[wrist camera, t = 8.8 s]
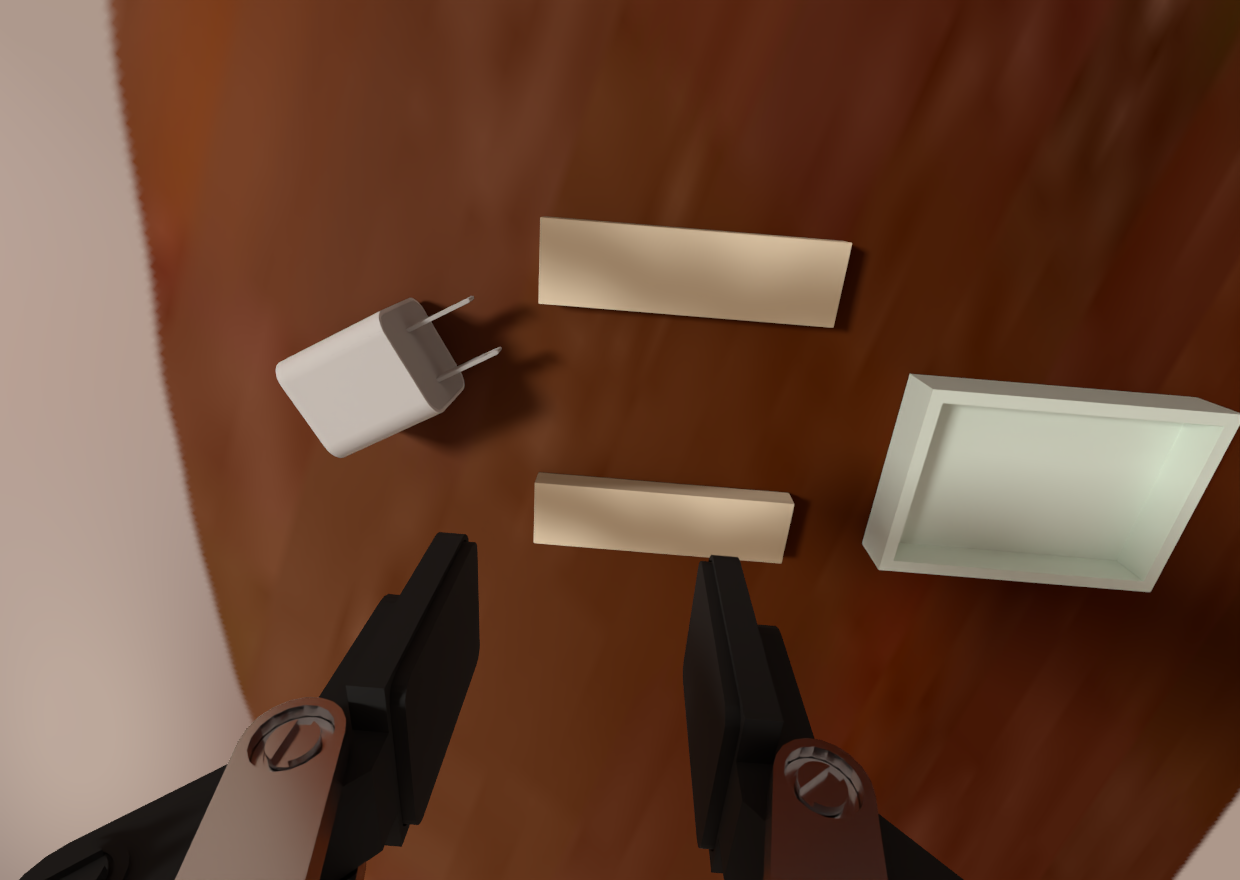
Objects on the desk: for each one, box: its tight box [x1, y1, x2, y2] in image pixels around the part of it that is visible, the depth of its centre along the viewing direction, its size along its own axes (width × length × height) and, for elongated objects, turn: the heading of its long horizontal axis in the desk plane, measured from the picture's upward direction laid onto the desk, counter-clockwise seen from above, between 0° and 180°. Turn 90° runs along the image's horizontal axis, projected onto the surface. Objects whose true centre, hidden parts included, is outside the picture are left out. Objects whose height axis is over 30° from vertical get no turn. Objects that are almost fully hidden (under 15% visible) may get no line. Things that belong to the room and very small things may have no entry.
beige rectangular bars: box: [534, 216, 852, 563], centre depth 23 cm, size 14×11×1 cm
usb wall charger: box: [276, 296, 502, 458], centre depth 22 cm, size 4×7×4 cm, turn 115°
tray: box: [862, 374, 1240, 592], centre depth 24 cm, size 8×12×2 cm
